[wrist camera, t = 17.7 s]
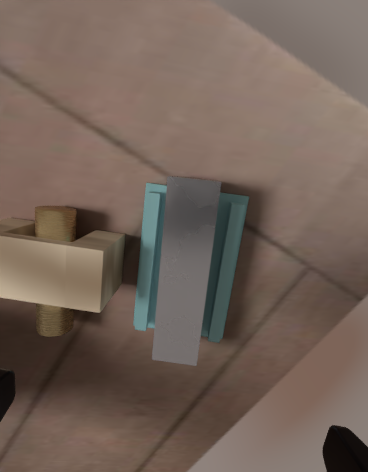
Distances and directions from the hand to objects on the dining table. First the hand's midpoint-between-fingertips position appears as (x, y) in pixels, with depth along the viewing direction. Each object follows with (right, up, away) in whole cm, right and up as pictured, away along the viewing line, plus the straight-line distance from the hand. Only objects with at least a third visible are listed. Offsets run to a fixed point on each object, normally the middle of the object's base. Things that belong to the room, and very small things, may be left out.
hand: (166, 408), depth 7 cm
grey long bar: (+1, +3, +11) cm, 12 cm away
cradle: (+1, +3, +12) cm, 12 cm away
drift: (-9, +3, +13) cm, 15 cm away
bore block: (-8, +4, +12) cm, 15 cm away
